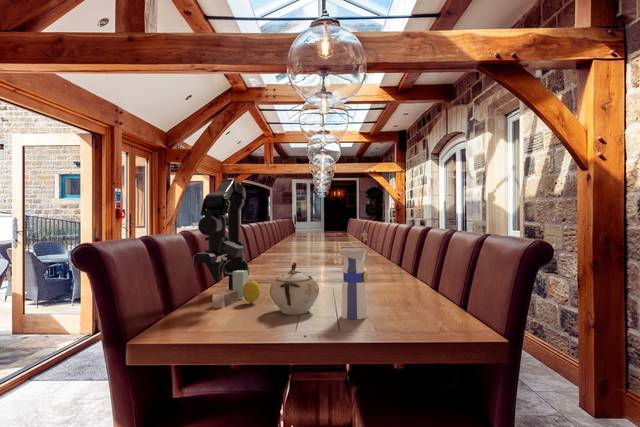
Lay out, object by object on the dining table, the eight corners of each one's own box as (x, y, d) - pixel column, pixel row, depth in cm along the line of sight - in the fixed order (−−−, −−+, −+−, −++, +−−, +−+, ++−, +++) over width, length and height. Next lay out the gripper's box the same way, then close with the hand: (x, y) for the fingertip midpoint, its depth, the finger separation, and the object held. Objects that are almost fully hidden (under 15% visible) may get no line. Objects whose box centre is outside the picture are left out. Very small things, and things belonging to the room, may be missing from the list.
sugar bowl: (313, 320, 122) (312, 266, 122) (261, 319, 125) (260, 266, 125) (323, 305, 142) (323, 258, 142) (279, 304, 144) (278, 258, 144)
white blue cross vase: (371, 313, 130) (370, 228, 129) (366, 320, 121) (365, 230, 121) (344, 311, 132) (343, 228, 132) (337, 318, 124) (336, 230, 123)
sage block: (238, 296, 158) (237, 270, 158) (248, 297, 157) (248, 270, 156) (232, 298, 154) (232, 271, 154) (243, 299, 153) (242, 272, 153)
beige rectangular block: (212, 307, 141) (227, 301, 150) (223, 307, 140) (237, 301, 149) (212, 294, 141) (227, 289, 150) (223, 295, 140) (237, 290, 149)
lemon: (261, 302, 148) (261, 278, 148) (257, 305, 142) (257, 281, 142) (245, 301, 148) (245, 278, 148) (241, 305, 143) (240, 280, 143)
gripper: (224, 235, 129) (225, 288, 129) (252, 232, 147) (253, 278, 147) (191, 235, 132) (192, 287, 132) (223, 232, 150) (223, 277, 150)
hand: (217, 282), depth 140 cm, fingers closed
